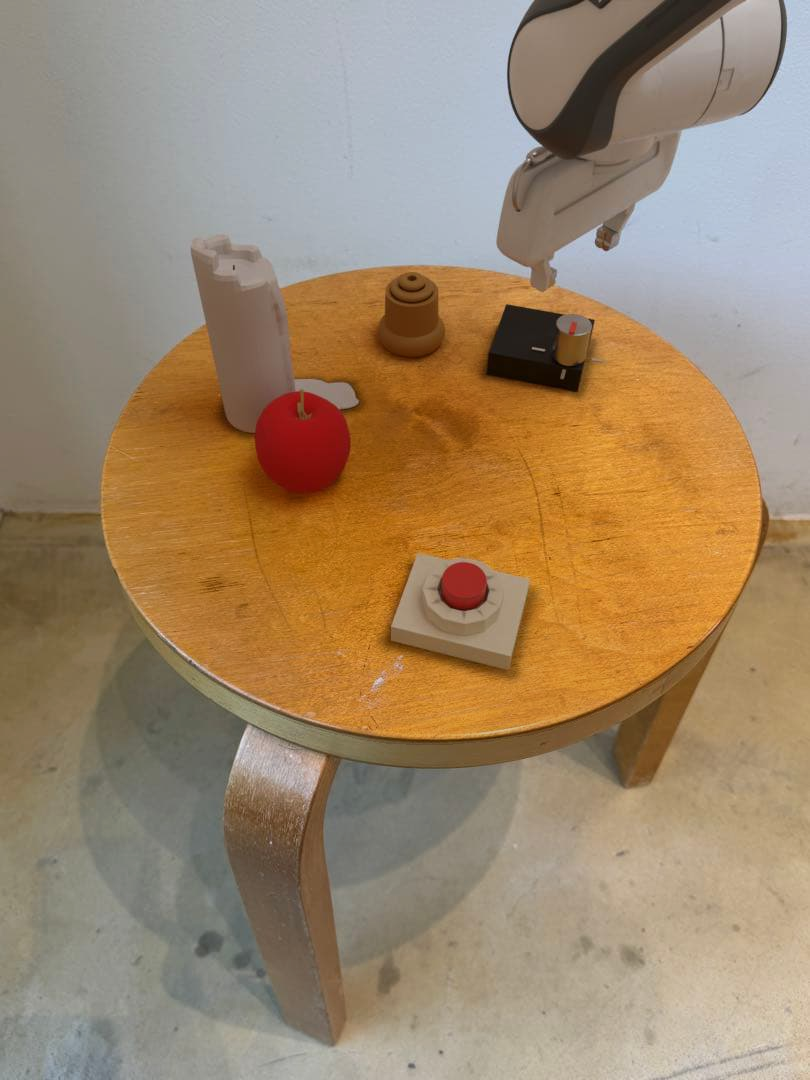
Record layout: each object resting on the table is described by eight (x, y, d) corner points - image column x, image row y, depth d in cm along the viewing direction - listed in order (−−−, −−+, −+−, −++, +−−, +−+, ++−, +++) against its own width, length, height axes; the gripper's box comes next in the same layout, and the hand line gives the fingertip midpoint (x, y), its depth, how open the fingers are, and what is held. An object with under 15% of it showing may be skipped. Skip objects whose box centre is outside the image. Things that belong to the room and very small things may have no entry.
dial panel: (608, 344, 96) (614, 321, 93) (594, 408, 89) (600, 384, 87) (503, 325, 98) (506, 302, 95) (482, 386, 91) (484, 363, 89)
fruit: (371, 480, 82) (368, 402, 75) (293, 523, 79) (281, 446, 71) (318, 428, 87) (309, 349, 79) (241, 467, 83) (225, 388, 76)
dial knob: (554, 342, 91) (560, 308, 88) (587, 348, 90) (594, 314, 87) (548, 362, 89) (554, 329, 86) (582, 369, 88) (589, 335, 85)
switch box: (527, 593, 74) (533, 565, 71) (508, 670, 69) (513, 644, 66) (417, 567, 76) (417, 539, 73) (390, 640, 71) (390, 613, 68)
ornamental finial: (454, 330, 97) (427, 368, 93) (395, 312, 99) (366, 349, 95) (458, 268, 91) (429, 306, 87) (395, 251, 93) (364, 287, 89)
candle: (364, 415, 88) (355, 241, 73) (230, 439, 86) (192, 264, 70) (349, 371, 93) (338, 198, 77) (221, 393, 90) (184, 219, 75)
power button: (489, 580, 70) (491, 567, 69) (479, 614, 68) (481, 602, 67) (447, 570, 71) (448, 557, 70) (436, 604, 69) (436, 591, 67)
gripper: (550, 174, 62) (527, 328, 73) (706, 90, 71) (665, 238, 82) (487, 143, 65) (473, 296, 76) (645, 66, 74) (613, 212, 85)
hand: (574, 265), depth 79 cm, fingers open, 8 cm apart
